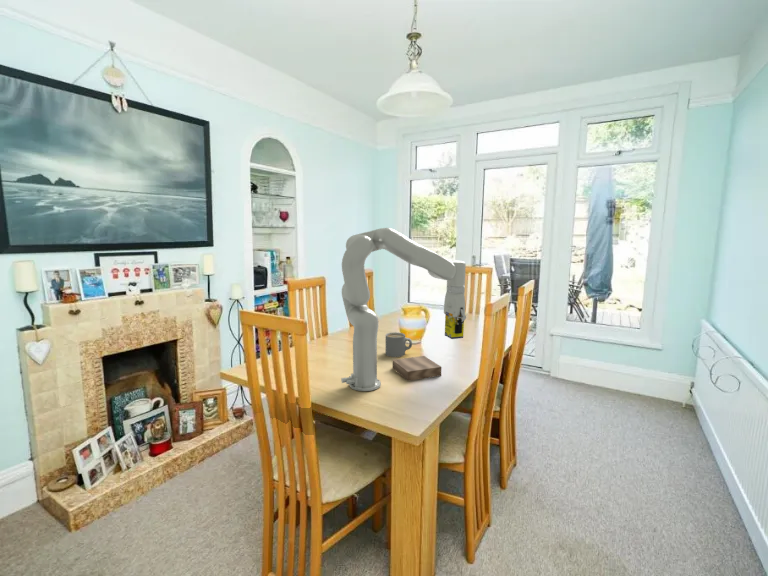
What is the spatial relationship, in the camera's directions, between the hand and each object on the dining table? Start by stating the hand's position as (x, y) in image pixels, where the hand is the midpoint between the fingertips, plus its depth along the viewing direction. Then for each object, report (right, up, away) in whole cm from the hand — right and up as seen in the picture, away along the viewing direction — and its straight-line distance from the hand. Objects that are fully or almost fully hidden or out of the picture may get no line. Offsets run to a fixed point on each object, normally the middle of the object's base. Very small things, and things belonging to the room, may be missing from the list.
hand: (454, 331), depth 163 cm
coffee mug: (-23, -15, +30) cm, 41 cm away
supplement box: (0, -3, 0) cm, 3 cm away
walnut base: (-16, -19, +5) cm, 25 cm away
